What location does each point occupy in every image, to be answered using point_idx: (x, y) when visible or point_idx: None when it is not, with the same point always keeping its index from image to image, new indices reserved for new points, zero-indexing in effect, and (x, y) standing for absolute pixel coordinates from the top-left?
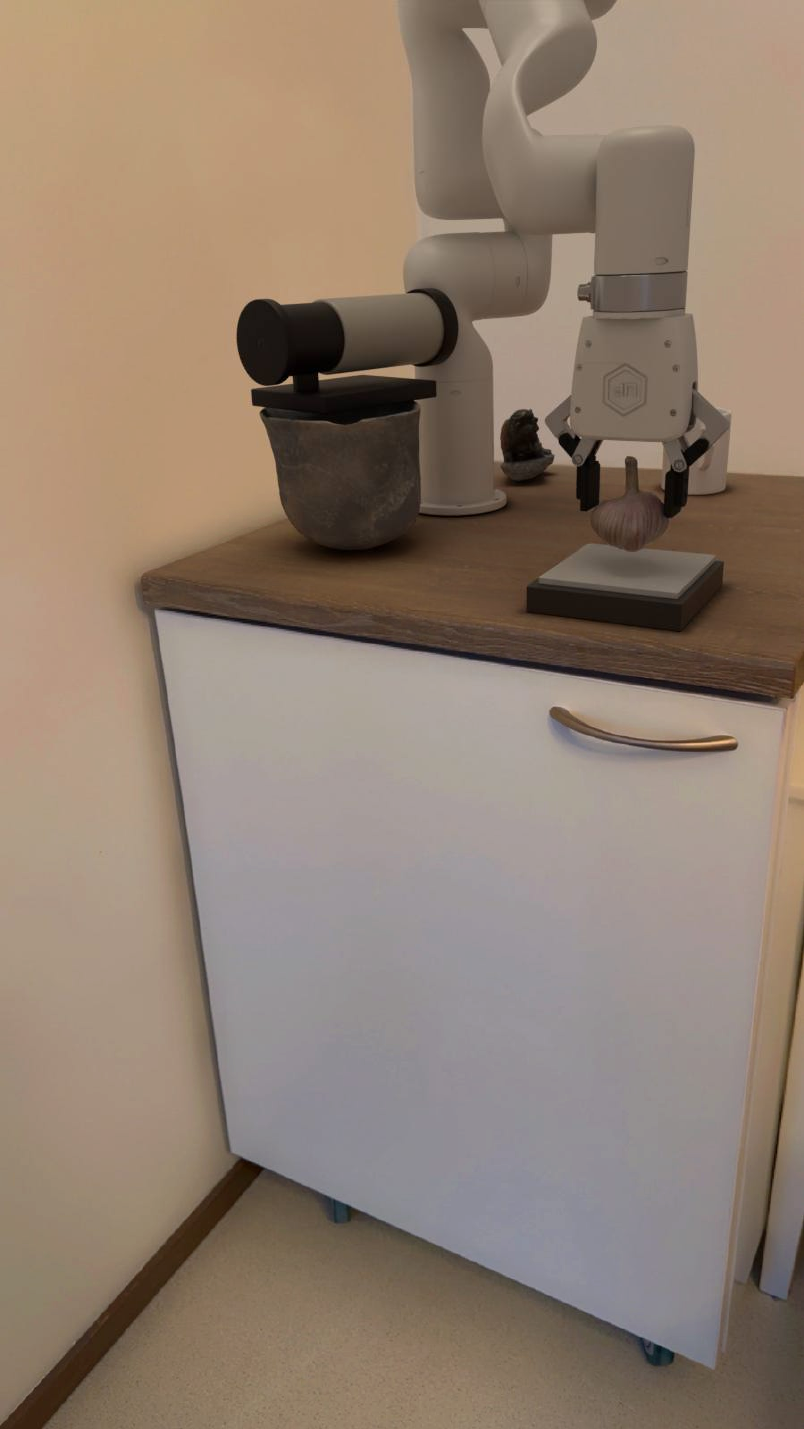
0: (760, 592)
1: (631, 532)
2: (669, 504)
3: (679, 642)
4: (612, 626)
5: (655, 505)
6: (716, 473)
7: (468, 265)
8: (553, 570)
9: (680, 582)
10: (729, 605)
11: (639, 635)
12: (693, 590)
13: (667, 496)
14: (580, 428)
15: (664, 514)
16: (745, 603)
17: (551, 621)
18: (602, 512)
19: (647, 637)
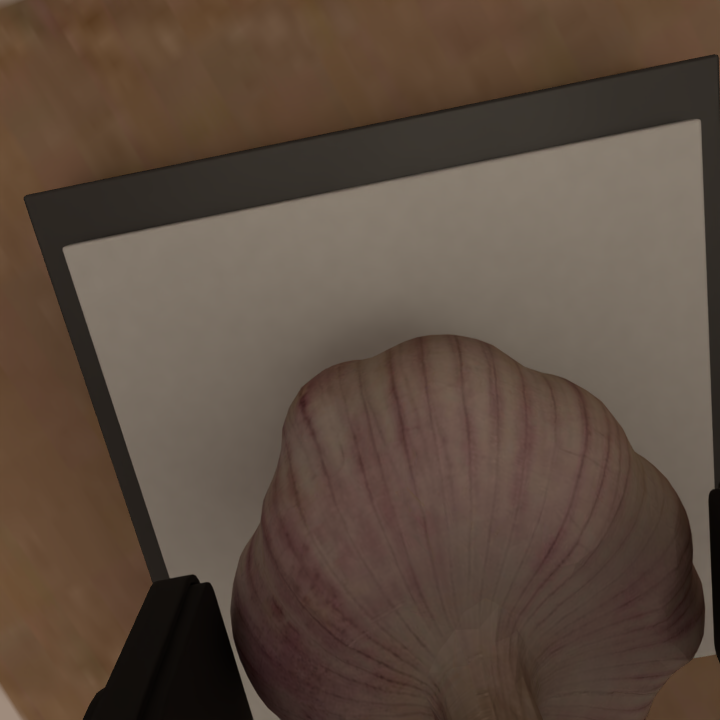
0: (95, 670)
1: (335, 387)
2: (146, 630)
3: (8, 86)
4: (297, 110)
5: (275, 635)
6: None
7: None
8: (684, 250)
9: (133, 379)
10: (99, 520)
11: (163, 73)
12: (92, 384)
13: (145, 667)
14: None
15: (200, 586)
16: (71, 561)
17: (522, 28)
18: (577, 440)
19: (128, 69)
